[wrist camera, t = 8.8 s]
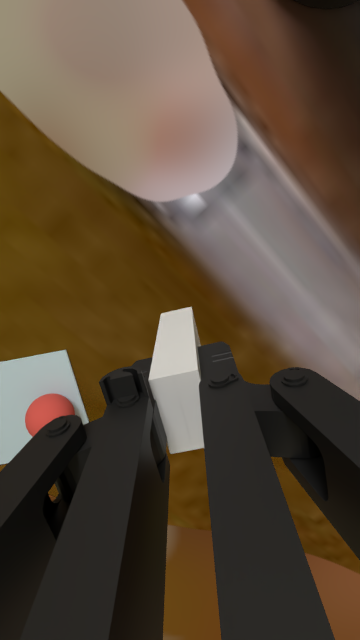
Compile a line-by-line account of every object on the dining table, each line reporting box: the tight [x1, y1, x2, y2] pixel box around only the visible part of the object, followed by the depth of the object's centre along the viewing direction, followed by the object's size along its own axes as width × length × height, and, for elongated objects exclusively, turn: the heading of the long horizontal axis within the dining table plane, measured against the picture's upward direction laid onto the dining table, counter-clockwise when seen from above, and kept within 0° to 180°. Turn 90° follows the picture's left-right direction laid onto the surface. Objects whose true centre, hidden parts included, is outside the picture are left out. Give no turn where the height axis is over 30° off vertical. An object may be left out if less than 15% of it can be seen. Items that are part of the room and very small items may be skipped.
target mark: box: [0, 350, 89, 464], centre depth 42 cm, size 14×14×1 cm
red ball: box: [25, 393, 75, 437], centre depth 39 cm, size 6×6×6 cm
